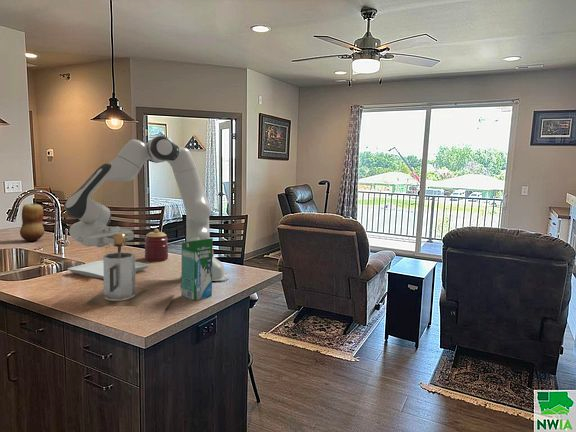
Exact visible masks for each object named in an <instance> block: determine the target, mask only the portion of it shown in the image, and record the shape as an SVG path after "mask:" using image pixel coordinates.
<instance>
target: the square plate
mask: <svg viewBox="0 0 576 432" xmlns="http://www.w3.org/2000/svg"><path fill="white" fill-rule="evenodd" d="M149 266H150V264H149V263H145V262H139V261H135V273H137V272H141V271H143V270H146V269H147V268H148V267H149ZM67 270H68V271H69V272H71V273H73V274H77V275H81V276H85V277H90V278H95V279H100V280H104V266H103V259H102V260H97V261H92V262H88V263H83V264H80V265H79V264H78V265H76V266H72V267H68V268H67Z"/></svg>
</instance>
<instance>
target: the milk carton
mask: <svg viewBox="0 0 576 432" xmlns="http://www.w3.org/2000/svg"><path fill="white" fill-rule="evenodd" d="M213 239H214V238H213V237H210V239H203V240H199V237H197V238H191V239H190V242H186V241H184V242H181V282H180V283H181V285H180V286H181V290H180V292H181V293H180V294H181V296H182V297H183V298H186V299H189V300H191V301H194V302H195V301H199V300H202V298H203V299H206V298H209V296H210V297H212V295H213V292H212V291H213V289H212V288H213V282H212V250H213V251H214V249H213V247H214V246H213V243H214V241H213ZM205 297H206V298H205Z"/></svg>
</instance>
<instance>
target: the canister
mask: <svg viewBox="0 0 576 432" xmlns="http://www.w3.org/2000/svg"><path fill="white" fill-rule="evenodd" d="M145 236H146V237H145V238H144V241H145V243H144V260H146V261H149V262H162V261H166V260H168V258H169V243H168V240H169V238H168V237H167V234H166V233H165V232H163V231H160V230H159V229H158V228H155V229H154V230H153V231H150V232H148V233H146V235H145Z"/></svg>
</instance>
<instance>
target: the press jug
mask: <svg viewBox="0 0 576 432" xmlns="http://www.w3.org/2000/svg"><path fill="white" fill-rule="evenodd" d="M102 258H103V259H102V260H103V266H104V279H103V289H104V299H105V300H107V301H112V302H119V301H126V300H130V299H132V298H134V297H135V289H136V272H135V262H136V254H134V253H132V252H121V258H118V252H112V253H111V252H110V253H107V254H104V256H103V257H102Z"/></svg>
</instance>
